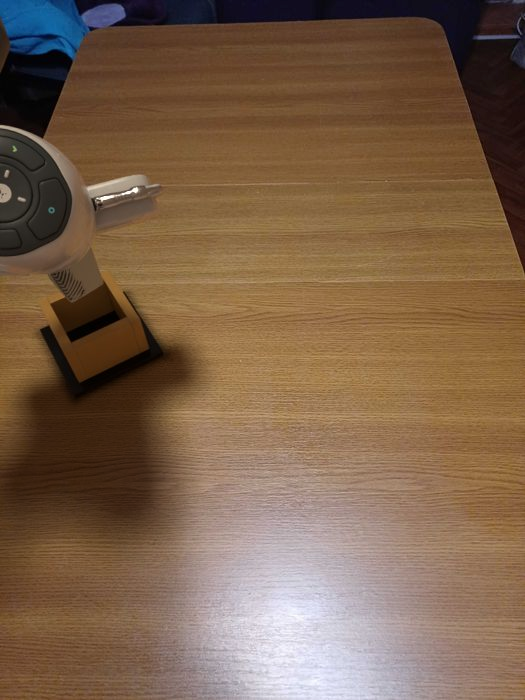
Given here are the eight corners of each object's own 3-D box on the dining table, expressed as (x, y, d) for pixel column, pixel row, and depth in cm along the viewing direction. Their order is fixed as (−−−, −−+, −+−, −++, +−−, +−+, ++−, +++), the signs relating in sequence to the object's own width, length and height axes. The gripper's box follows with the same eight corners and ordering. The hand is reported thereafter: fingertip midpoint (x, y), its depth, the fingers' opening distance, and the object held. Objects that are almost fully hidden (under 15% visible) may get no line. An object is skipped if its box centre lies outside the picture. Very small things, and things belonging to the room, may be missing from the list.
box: (48, 279, 68) (4, 187, 58) (82, 259, 70) (45, 166, 59) (73, 306, 66) (31, 215, 55) (107, 285, 67) (73, 192, 57)
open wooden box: (75, 399, 74) (58, 367, 69) (41, 333, 80) (23, 299, 75) (164, 355, 77) (154, 321, 72) (125, 294, 84) (113, 259, 78)
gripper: (152, 146, 50) (146, 173, 64) (-109, 212, 47) (-58, 226, 60) (175, 222, 51) (164, 233, 65) (-78, 293, 48) (-34, 289, 61)
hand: (56, 230), depth 62 cm, fingers closed on box, 5 cm apart
